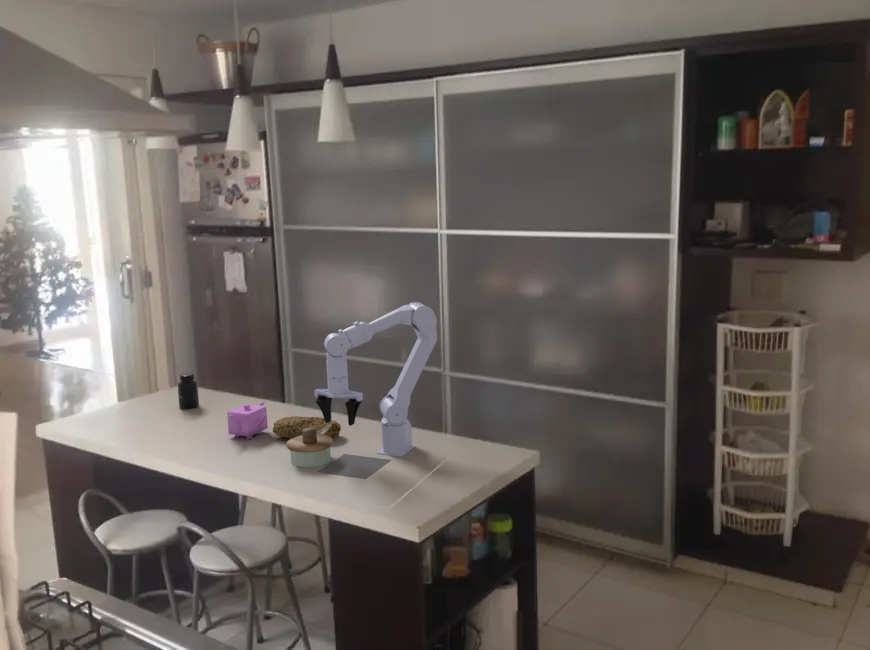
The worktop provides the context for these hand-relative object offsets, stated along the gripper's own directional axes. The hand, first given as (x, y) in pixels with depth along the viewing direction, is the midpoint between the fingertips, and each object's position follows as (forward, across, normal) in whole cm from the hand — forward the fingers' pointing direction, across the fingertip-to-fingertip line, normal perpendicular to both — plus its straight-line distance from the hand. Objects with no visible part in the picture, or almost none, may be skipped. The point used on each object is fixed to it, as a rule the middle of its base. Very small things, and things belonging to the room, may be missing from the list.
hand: (339, 423), depth 228 cm
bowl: (+10, -7, -5) cm, 13 cm away
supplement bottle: (+11, -78, +28) cm, 84 cm away
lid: (+5, -7, -5) cm, 10 cm away
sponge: (+11, -20, +12) cm, 26 cm away
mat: (+10, +7, -5) cm, 13 cm away
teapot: (+11, -38, +9) cm, 40 cm away
